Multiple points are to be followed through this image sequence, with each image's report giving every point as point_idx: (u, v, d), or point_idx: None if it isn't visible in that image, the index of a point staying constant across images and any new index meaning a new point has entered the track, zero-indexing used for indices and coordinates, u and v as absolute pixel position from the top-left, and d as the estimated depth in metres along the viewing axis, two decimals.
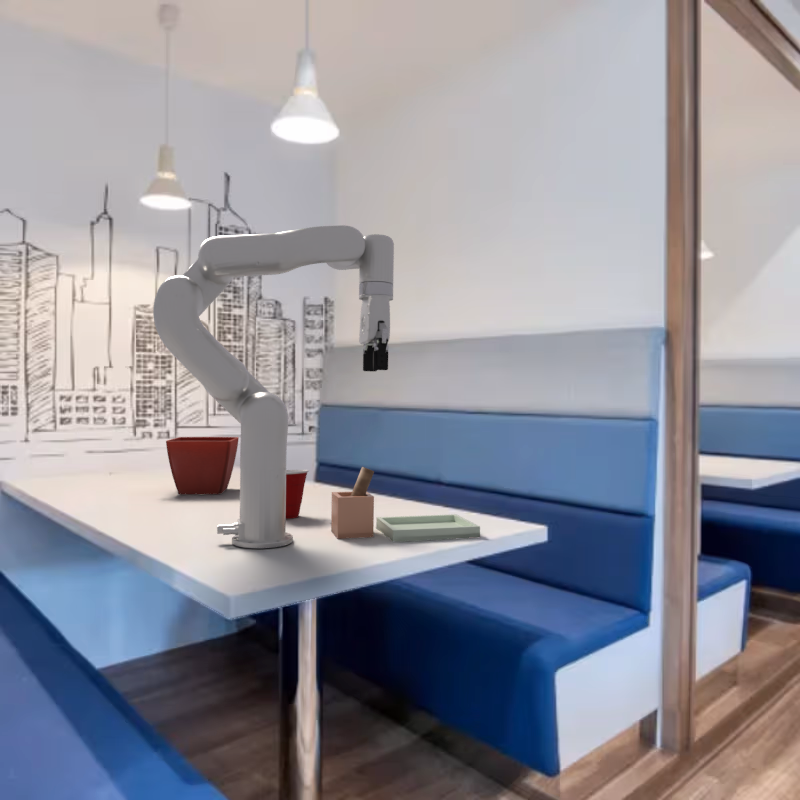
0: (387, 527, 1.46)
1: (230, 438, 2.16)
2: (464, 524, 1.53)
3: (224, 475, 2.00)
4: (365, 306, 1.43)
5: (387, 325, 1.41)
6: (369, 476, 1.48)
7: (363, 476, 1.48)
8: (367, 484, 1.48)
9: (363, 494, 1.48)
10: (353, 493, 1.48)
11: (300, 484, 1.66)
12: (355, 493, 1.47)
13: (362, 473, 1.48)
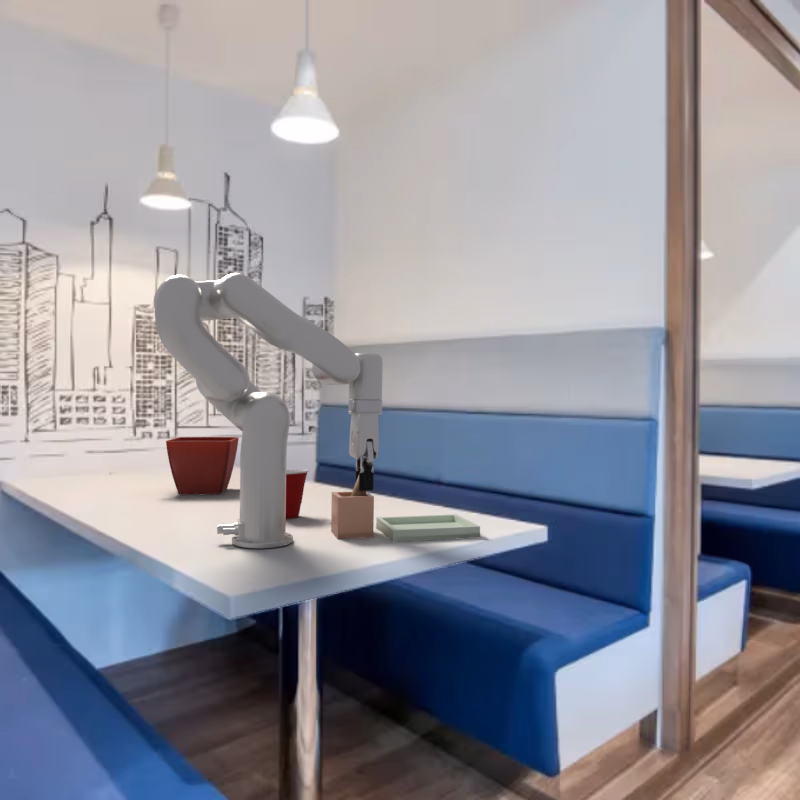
0: (387, 527, 1.46)
1: (230, 438, 2.16)
2: (464, 524, 1.53)
3: (224, 475, 2.00)
4: (354, 423, 1.46)
5: (376, 443, 1.44)
6: None
7: None
8: None
9: (363, 494, 1.48)
10: (353, 493, 1.48)
11: (300, 484, 1.66)
12: (355, 493, 1.47)
13: None
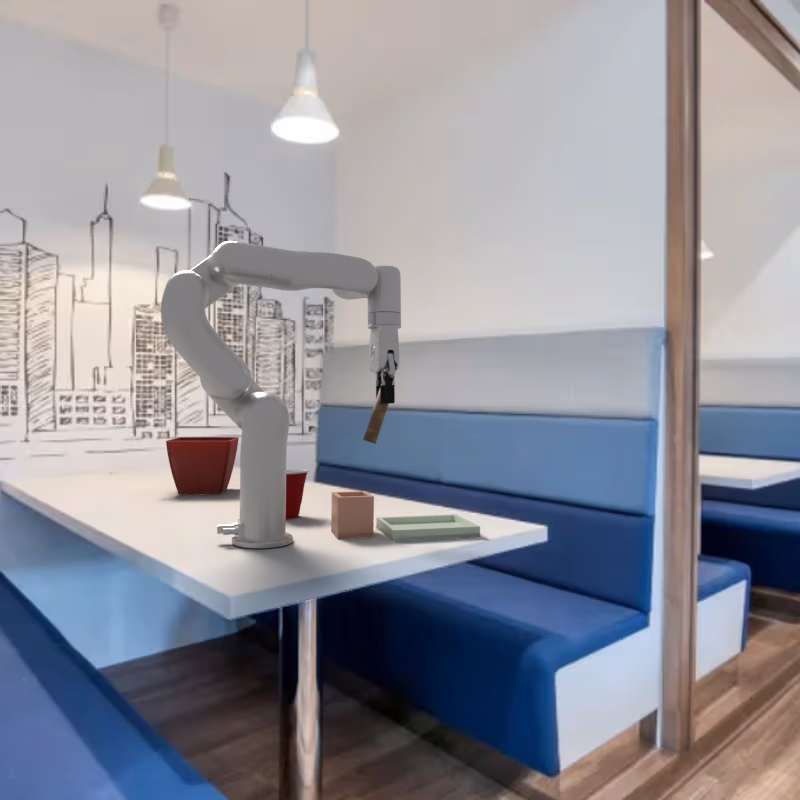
0: (387, 527, 1.46)
1: (230, 438, 2.16)
2: (464, 524, 1.53)
3: (224, 475, 2.00)
4: (374, 335, 1.47)
5: (396, 354, 1.45)
6: None
7: None
8: None
9: (385, 407, 1.48)
10: (375, 407, 1.48)
11: (300, 484, 1.66)
12: (377, 406, 1.48)
13: None
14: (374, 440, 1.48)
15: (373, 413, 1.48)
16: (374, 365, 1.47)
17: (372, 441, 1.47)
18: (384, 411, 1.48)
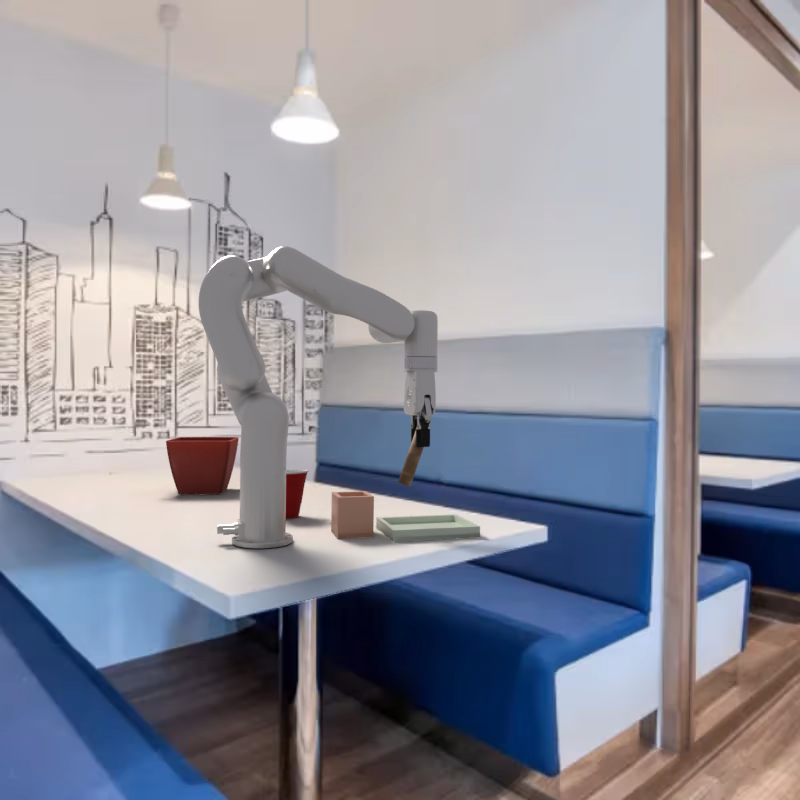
0: (387, 527, 1.46)
1: (230, 438, 2.16)
2: (464, 524, 1.53)
3: (224, 475, 2.00)
4: (411, 380, 1.48)
5: (433, 399, 1.46)
6: None
7: None
8: None
9: (420, 450, 1.49)
10: (411, 450, 1.49)
11: (300, 484, 1.66)
12: (412, 449, 1.49)
13: None
14: (409, 483, 1.48)
15: (408, 456, 1.49)
16: (410, 409, 1.48)
17: (407, 484, 1.48)
18: (419, 454, 1.49)
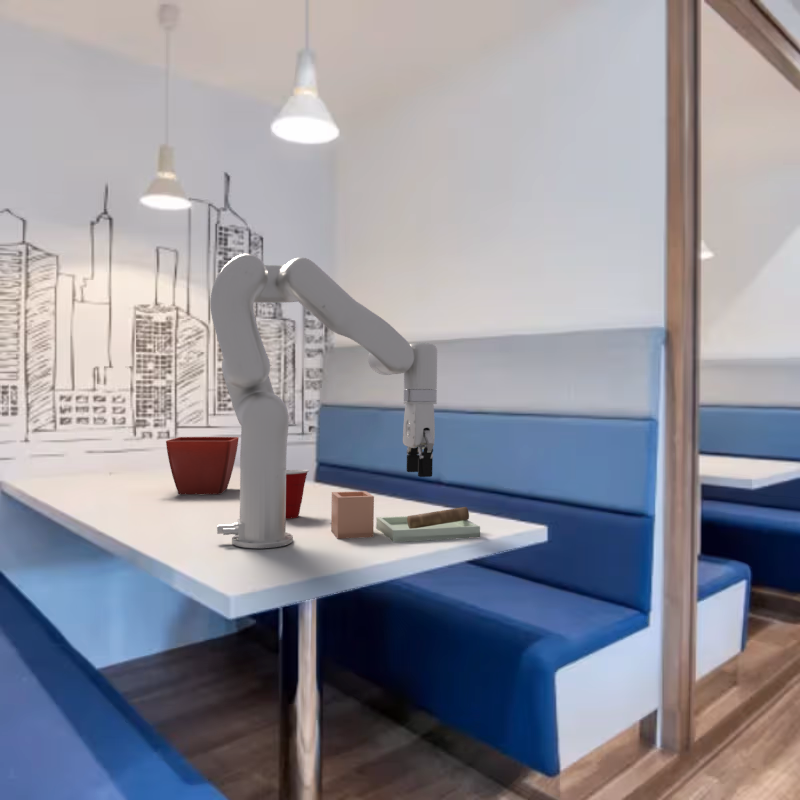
0: (387, 527, 1.46)
1: (230, 438, 2.16)
2: (464, 524, 1.53)
3: (224, 475, 2.00)
4: (410, 412, 1.48)
5: (432, 432, 1.46)
6: (463, 517, 1.52)
7: (461, 512, 1.52)
8: (455, 519, 1.52)
9: (446, 521, 1.51)
10: (441, 512, 1.51)
11: (300, 484, 1.66)
12: (443, 513, 1.51)
13: (462, 510, 1.52)
14: (413, 526, 1.49)
15: (435, 513, 1.51)
16: (409, 441, 1.48)
17: (412, 524, 1.49)
18: (442, 522, 1.51)
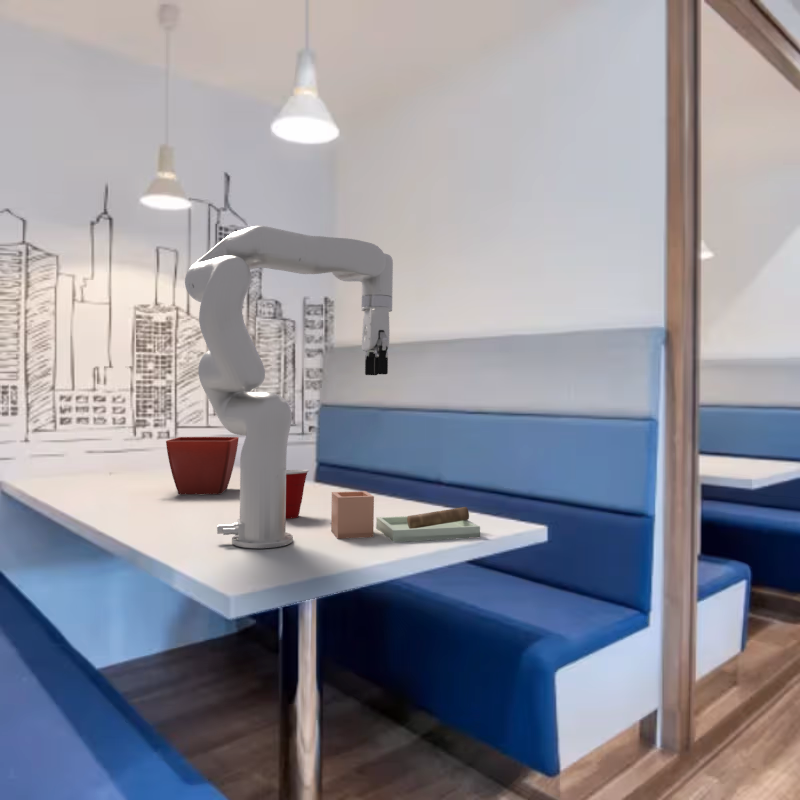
0: (387, 527, 1.46)
1: (230, 438, 2.16)
2: (464, 524, 1.53)
3: (224, 475, 2.00)
4: (367, 317, 1.59)
5: (387, 334, 1.57)
6: (463, 517, 1.52)
7: (461, 512, 1.52)
8: (455, 519, 1.52)
9: (446, 521, 1.51)
10: (441, 512, 1.51)
11: (300, 484, 1.66)
12: (443, 513, 1.51)
13: (462, 510, 1.52)
14: (413, 526, 1.49)
15: (435, 513, 1.51)
16: (366, 344, 1.59)
17: (412, 524, 1.49)
18: (442, 522, 1.51)
